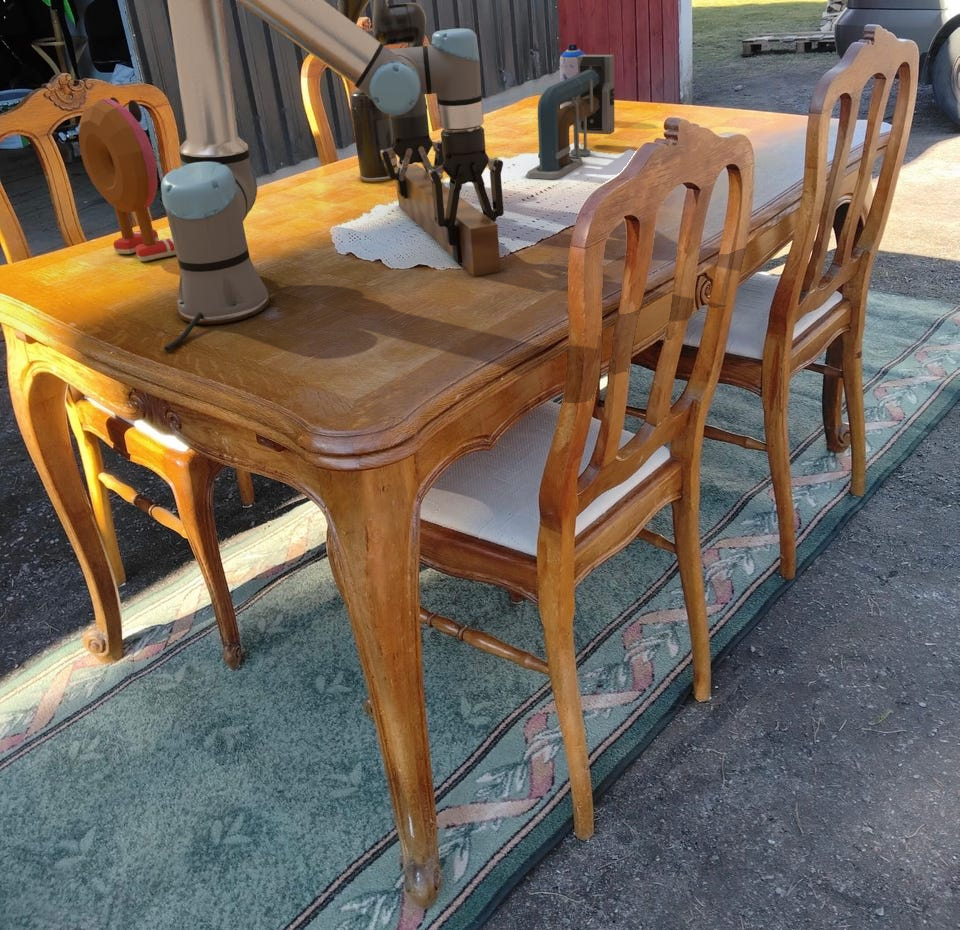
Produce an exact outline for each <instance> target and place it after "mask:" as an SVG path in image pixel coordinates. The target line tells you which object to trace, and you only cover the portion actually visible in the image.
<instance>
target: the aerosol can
mask: <svg viewBox="0 0 960 930" xmlns="http://www.w3.org/2000/svg"><path fill="white" fill-rule="evenodd" d="M580 55H586V54H585V52H584V51H583V50H581V49H579V48H578V44H577V43H574V44H568V48H567V49H566V50H565V51H563V52H562V53H561V55H560V56H559V79H560V81H559V82H562V81H564V80H566V79H568V78H570V77H573V76H575V75H577V74H578V58H577V57H578V56H580ZM571 103H573V102H572V101H571V102H565V103H563V104H561V105H560V109H561V108H563V107H565V106H567V105H569V104H571Z"/></svg>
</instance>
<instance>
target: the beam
mask: <svg viewBox="0 0 960 930" xmlns="http://www.w3.org/2000/svg"><path fill="white" fill-rule="evenodd" d="M394 169H395V172H396V173H397V169H398V166H397V167H394ZM404 180H405V181H406V187H407V195H408V198H406V199H404V198H403V197H402V196H401V195H400V194H399V190H398V181H397V180H395V185H396V193H397V195H396V196H397V202H398V207H399V209H401V210H402V211H403V212H404V213H405V214H406V215H407V216H408V217H409V218H410V219H412V221H414V223H416V224H417V225H418V226H419V227H420V228H421V229H422V230H423V231H424V232H425V233H426V234H428V235H429V236H430V237H431V239H433V240H434V241H435V242H437V244H438V245H440V246H441V248H443V250H445V251H446V252H447V253H448V254H449V255H450V256H451V257H453V246H452V245H451V246H450V245H449V244H448V242H447V236H446V227H440V226H439V225H438V224H437V223H436V222H435V219H434V207H433V195H432V183H431V180H430V178H429V176H428V173H427V172H426V171H425V169H424V168H422V167H421V166H420V165H419V164H418V163H413V164H409V165H408V169H407V171H406V175H405V179H404ZM441 183H442V191H443V204H444V217H445V215H446V208H447V201H448V195H449V188H450V187H448V186H447V185H446V184H444V183H443V182H441ZM455 225H456V226H457V227H458V228H459V233H460V244H461V256H462V263H459V265H461V266H462V267H463V268H464V269H465V270H466V271H467V272H469V273H470V274H471V276H473V277H479V276H485V275H488V274H494V273H500V272H501V261H500V259H501V257H500V243H499V242H500V241H499V228H498V223H496V221H495V222H494V221H492V220H491V219H490V218H488V217H487V216H486V215H484V214H483V211H482V212H481V211H480V210H479V209H478V208H476V207H475V206H473V204H471V203H469V202H468V201H467V200H465V198H463V197H462V196H460V195H459V202H458V208H457V215H456V221H455Z"/></svg>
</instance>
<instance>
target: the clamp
mask: <svg viewBox="0 0 960 930" xmlns="http://www.w3.org/2000/svg"><path fill="white" fill-rule="evenodd" d="M577 58H578V74H577V75H575V76H573V77H570V78H568V79H566V80H564V81H562V82H560V81H559V82H558V83H555V84H553V85H551V86H549V87H547V88H546V90H545V91H544V92H543V93H542V94H541V96H540V98H539V100H538V103H537V130H538V131H537V132H538V133H537V134H538V154H537V157H538V159H539V164H538V165H536V166H535V167H533V168H531V169H530V170H528V171H527V172H526V174H525V177H526V178H530V179H545V180H557V179H561V178H562V177H563V176H565V175H566V174H569V173H570V172H571V171H573V170H574V169H575V170H576V169H577V168H578V167H580V166H581V165H583V164H585V163H584V161H583V158H582V156H589V155H590V154H591V153H592V152H591V150H590V149H589V148H588V147H587V146H588V143H587V140H588V139H587V136H588V135H590V134H592V135H611V134H613V133H615V55H614V54H585V55H580V56H578V57H577ZM571 101H572V102H573V103H571V104H569V105H567V106H565V107H563V108H561V104H563V103H565V102H571ZM571 127H573V149H571V146H570V145H571V144H570V128H571ZM580 134H583V148H580Z"/></svg>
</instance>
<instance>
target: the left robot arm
mask: <svg viewBox="0 0 960 930" xmlns="http://www.w3.org/2000/svg"><path fill="white" fill-rule="evenodd" d="M235 1H236V2H237V3H239V4H240V5H242V6H243V7H245V8H246V9H247V10H249V11H250V12H252V13H253V14H254V15H256V16H257V17H259V19H261V20H263V22H265V23H266V24H268V25H269V26H271V27H272V28H274V29H275V30H277V31H278V32H279V33H281V34H282V35H283V36H284V37H286V38H287V39H289V40H290V41H292V42H293V43H295V44H296V45H297V46H299V47H300V48H301V49H303V50H304V51H305V52H307V53H308V54H310V55H312V56H313V57H314V58H315V59H317V60H319V61H320V62H321V63H322V64H324V65H325V66H326V67H328V68H329V69H331V70H332V71H333V72H335V73H336V74H337V75H339V76H341V77H342V78H343V79H345V80H346V81H348V82H349V83H350V84H352V85H353V86H354V87H356V89H359V90H360V91H362V92H363V93H365V94H366V95H367V96H368V97H369V98H371V99H372V101H373V102H374V103H375V105H376V106H377V107H378V108H379V109H380V110H381V111H382V112H384V113H386V114H389V115H402V114H404V113H406V112H408V111H409V110H411V109H412V108H413V106H414V105H415V104H416V102H417V101H418V99H419V95H423V94H425V95H433V94H436V96H437V105H438V116H439V126H440V128H442V130H441V132H440V139H441V140H440V141H442V152H443V158H442V161H441V165H439V166H438V167H436V168H434V169H432V168H429V169H428V170H427V173H428V176H429V178H430V180H431V183H432V195H433V207H434V219H435V222H436V223H437V224H438V225H439V226H440V227H446V236H447V242H448V244H449V245H450V246H451V245H452V246H453V256H452V258H453V261H455V263H457V264H458V265H460V263H462V256H461V244H460V233H459V228H458V227H457V226H456V225H455V221H456V215H457V208H458V202H459V196H460V195H461V191H462V187H463V185H465V184H466V183H471V184H472V185H473V187H474V190H475V193H476V196H477V199H478V202H479V206H480V208H481V211H482V213H483V214H484V215H486V216H487V217H488V218H490V219H491V220H492V221H494V222H495V223H496V220H497V218H498V217H502V216H504V213H505V212H504V211H505V210H504V198H503V186H502V171H503V167H504V162H503V160H501V159H499V158H498V157H494V158H492V157H489V156H488V154H487V151H486V137H485V128H484V127H483V124H484V122H485V121H484V110H483V97H482V79H481V61H480V52H479V45H478V37H477V33H476V32H474V30H472V29H471V28H449V29H442V30H437V31H434V32H433V33H432V36H431V41H430V43H431V44H427V45H423V47H409V48H407V47H397V48H396V47H395V48H388V47H387V46H386V45H385V46H384V45H382V44H381V43H380V42H379V41H377V40H376V39H375V38H373V37H372V36H371V35H369V34H368V33H367V32H365V31H364V30H365V29H363V28H361V27H360V26H359V25H358V24H357V25H356V24H355V23H353V22H352V21H351V20H349V19H348V18H347V17H345V16H344V15H343V14H341V13H340V12H339V11H338V9H336V8H335V7H333V6H332V5H331V4H329V2H327V1H326V0H235ZM167 7H168V14H169V15H168V16H169V21H170V30H171V37H172V43H173V44H172V45H173V51H174V57H175V64H176V71H177V79H178V86H179V92H180V100H181V107H182V115H183V121H184V129H185V136H186V138H185V141H184V142H183V143H182V144H181V145H180V147H178V152H179V159H180V166H179V167H178V168H173V169H172V170H170V171H169V172H167V173H166V174H165V175H164V176H163V178H162V180H161V182H160V191H161V200H162V205H163V207H164V209H165V214H166V217H167V221H168V226H169V230H170V234H171V238H173V242H174V246H175V251H176V255H175V256H176V258H177V262H178V266H179V283H178V294H177V310H178V314H179V318H180V319H182V320H183V321H184V322H186V323H189V324H188V325H187V327H186V328H185V329H184V330H183V332H182V333H181V334H180V335H179V336H178V337H176V339H174V340H172V341H171V342H170V343H168V344H167V345H165V346H164V350H165V351H166V352H170V351H171V350H172V349H174V348H175V347H176V346H178V345H179V344H181V343H182V342H183V341H184V340H185V339H186V338H187V337H188V336H189V334H190V333H191V332H192V330H193V329H194V327H195V326H197V325H202V326H203V325H204V326H205V325H206V326H210V325H222V324H230V323H233V322H239V321H241V320H245V319H248V318H251V317H253V316H256V315H258V314H260V312H263V311H264V310H265V309H266V308H267V307H268V306H269V305H270V296H269V292H268V290H267V287H266V284H265V283H264V282H263V280H262V278H261V276H260V274H259V272H258V270H257V269H256V267H255V265H254V264H253V262H252V260H251V257H250V251H249V246H248V241H247V236H246V232H245V227H244V222H245V220H246V217H247V216H248V215H249V213H250V212H251V210H252V209H253V207H254V205H255V203H256V198H257V196H258V181H257V178H256V177H257V176H256V173H255V171H254V169H253V167H252V165H251V158H250V149H249V144H248V143H247V142H245V140H243V139H241V138H240V136H239V132H238V123H237V113H236V105H235V97H234V86H233V79H232V70H231V69H232V68H231V61H230V52H229V43H228V35H227V27H226V18H225V17H226V16H225V7H224V1H223V0H167ZM486 168H488V170H489V181H490V190H491V191H490V192H491V202H490V199H489V196H488V193H487V189H486V186H485V181H484V178H483V173H484V171H485V170H486ZM444 172H445V174H446V175H447V176H448V177H449V183H448V186H449V187H448V188H449V195H448V201H447V208H446V215H445V217H444V204H443V191H442V183H443V182H442V180H443V177H444V176H443V175H444ZM491 203H492V205H491Z"/></svg>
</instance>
